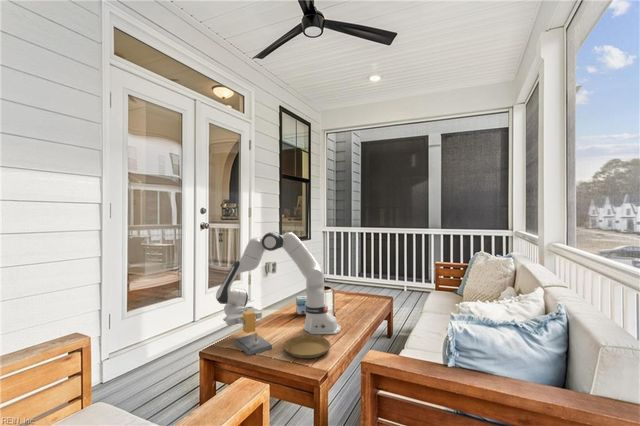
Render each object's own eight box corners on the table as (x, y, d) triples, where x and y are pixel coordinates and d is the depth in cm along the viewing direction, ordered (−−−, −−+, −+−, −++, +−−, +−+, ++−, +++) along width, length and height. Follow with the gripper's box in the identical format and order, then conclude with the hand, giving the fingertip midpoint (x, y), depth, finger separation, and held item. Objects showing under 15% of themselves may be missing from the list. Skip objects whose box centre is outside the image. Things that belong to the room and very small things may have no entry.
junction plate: (234, 342, 176) (233, 328, 176) (255, 337, 184) (255, 323, 183) (248, 355, 161) (248, 339, 160) (271, 348, 168) (271, 333, 168)
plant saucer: (296, 338, 182) (296, 332, 182) (336, 344, 173) (336, 338, 173) (275, 356, 159) (275, 350, 159) (320, 365, 151) (320, 358, 151)
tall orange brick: (251, 328, 179) (251, 310, 179) (255, 331, 175) (255, 312, 175) (243, 330, 176) (242, 312, 176) (246, 333, 172) (246, 314, 172)
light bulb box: (297, 314, 222) (297, 299, 222) (295, 311, 229) (295, 296, 228) (312, 313, 225) (312, 297, 225) (310, 310, 231) (310, 295, 231)
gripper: (221, 313, 180) (231, 319, 169) (255, 305, 192) (266, 311, 181) (222, 324, 180) (231, 331, 169) (255, 316, 192) (266, 322, 181)
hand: (249, 321), depth 175 cm, fingers closed on tall orange brick, 5 cm apart
